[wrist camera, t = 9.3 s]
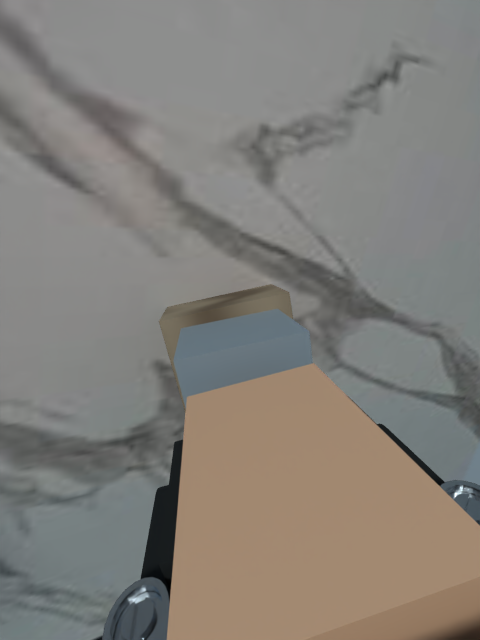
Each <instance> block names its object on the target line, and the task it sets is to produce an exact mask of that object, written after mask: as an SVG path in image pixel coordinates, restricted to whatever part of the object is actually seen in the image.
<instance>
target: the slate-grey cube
mask: <svg viewBox="0 0 480 640" xmlns="http://www.w3.org/2000/svg"><path fill="white" fill-rule="evenodd" d="M173 361H174V365H175V369H176V373H177V377H178V381H179V385H180V388H181V392H182V396H183V400H184V404H185V408H186V402H187V397H188V396H192V395H196V394H199V393H203V392H207V391H211V390H215V389H218V388H222V387H226V386H230V385H233V384H237V383H241V382H245V381H248V380H252V379H256V378H260V377H264V376H267V375H271V374H275V373H279V372H282V371H286V370H290V369H294V368H297V367H301V366H305V365H309V364H313V362H312V352H311V343H310V334H309V331H308V330H307V329H305V328H304V327H302V326H301V325H300V324H298V323H297V322H296V321H294V320H293V319H291V318H290V317H289V316H287V315H286V314H284V313H283V312H282V311H280V310H279V309H273V310H268V311H263V312H259V313H254V314H249V315H244V316H239V317H234V318H229V319H224V320H219V321H214V322H210V323H205V324H200V325H195V326H190V327H185V328H181V331H180V335H179V339H178V343H177V347H176V352H175V356H174V360H173Z"/></svg>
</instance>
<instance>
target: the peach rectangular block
mask: <svg viewBox="0 0 480 640" xmlns="http://www.w3.org/2000/svg"><path fill="white" fill-rule="evenodd" d="M167 640H480V525H479V524H478V523H477V522H476V521H475V520H474V519H473V518H471V517H470V516H469V515H468V514H467V513H466V512H465V511H464V510H463V509H462V508H461V507H460V506H459V505H458V504H457V503H456V502H455V501H454V500H453V499H452V498H451V497H450V496H449V495H448V494H447V493H446V492H445V491H444V490H443V489H442V488H441V487H440V486H439V485H438V484H437V483H436V482H435V481H434V480H433V479H432V478H431V477H430V476H429V475H427V474H426V473H425V472H424V471H423V470H422V469H421V468H420V467H419V466H418V465H417V464H416V463H415V462H414V461H413V460H412V459H411V458H410V457H409V456H408V455H407V454H406V453H405V452H404V451H403V450H402V449H401V448H400V447H399V446H398V445H397V444H396V443H395V442H394V441H393V440H392V439H391V438H390V437H389V436H388V435H387V434H386V433H385V432H384V431H382V430H381V429H380V428H379V427H378V426H377V425H376V424H375V423H374V422H373V421H372V420H371V419H370V418H369V417H368V416H367V415H366V414H365V413H364V412H363V411H362V410H361V409H360V408H359V407H358V406H357V405H356V404H355V403H354V402H353V401H352V400H351V399H350V398H349V397H348V396H347V395H346V394H345V393H344V392H343V391H342V390H341V389H340V388H339V387H337V386H336V385H335V384H334V383H333V382H332V381H331V380H330V379H329V378H328V377H327V376H326V375H325V374H324V373H323V372H322V371H321V370H320V369H319V368H318V367H317V366H316V365H315V364H314V363H313V364H309V365H305V366H301V367H297V368H294V369H290V370H286V371H282V372H279V373H275V374H271V375H267V376H264V377H260V378H256V379H252V380H248V381H245V382H241V383H237V384H233V385H230V386H226V387H222V388H218V389H215V390H211V391H207V392H203V393H199V394H196V395H192V396H188V397H187V402H186V414H185V426H184V438H183V450H182V462H181V474H180V486H179V498H178V510H177V522H176V534H175V546H174V558H173V570H172V582H171V594H170V606H169V618H168V630H167Z"/></svg>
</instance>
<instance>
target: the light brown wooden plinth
mask: <svg viewBox="0 0 480 640" xmlns="http://www.w3.org/2000/svg"><path fill="white" fill-rule="evenodd" d="M273 309H279V310H280V311H282V312H283V313H284V314H286V315H287V316H289V317H290V318H291V319H293V315H292V308H291V302H290V295H289V292H287V291H285V290H283V289H281V288H279V287H276V286H274V285H272V284H270V285H266V286H261V287H257V288H252V289H248V290H243V291H238V292H234V293H229V294H225V295H220V296H216V297H211V298H207V299H202V300H198V301H193V302H188V303H184V304H179V305H175V306H170V307H167V308H166V310H165V312H164V314H163V315H162V317H161V319H160V321H159V323H160V327H161V330H162V334H163V337H164V341H165V344H166V348H167V351H168V354H169V358H170V361H171V365H172V368H173V372H174V375H175V379H176V382H177V385H178V389H179V392H180V396H181V399H182V403H183V406H184V410H185V413H186V408H185V404H184V400H183V396H182V392H181V388H180V385H179V381H178V377H177V373H176V369H175V365H174V361H173V360H174V356H175V352H176V347H177V343H178V339H179V335H180V331H181V328H185V327H190V326H195V325H200V324H205V323H210V322H214V321H219V320H224V319H229V318H234V317H239V316H244V315H249V314H254V313H259V312H263V311H268V310H273Z"/></svg>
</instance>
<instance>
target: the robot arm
mask: <svg viewBox="0 0 480 640" xmlns="http://www.w3.org/2000/svg"><path fill="white" fill-rule="evenodd" d="M355 404H356V403H355ZM356 405H357V404H356ZM357 406H358V405H357ZM358 407H359V406H358ZM359 408H360V407H359ZM360 409H361V408H360ZM361 410H362V409H361ZM362 411H363V410H362ZM363 412H364V411H363ZM364 413H365V412H364ZM365 414H366V413H365ZM366 415H367V414H366ZM367 416H368V415H367ZM368 417H369V416H368ZM369 418H370V417H369ZM370 419H371V418H370ZM371 420H372V419H371ZM372 421H373V420H372ZM373 422H374V421H373ZM374 423H375V422H374ZM375 424H376V423H375ZM376 425H377V426H378V427H379V428H380V429H381V430H382V431H384V432H385V433H386V434H387V435H388V436H389V437H390V438H391V439H392V440H393V441H394V442H395V443H396V444H397V445H398V446H399V447H400V448H401V449H402V450H403V451H404V452H405V453H406V454H407V455H408V456H409V457H410V458H411V459H412V460H413V461H414V462H415V463H416V464H417V465H418V466H419V467H420V468H421V469H422V470H423V471H424V472H425V473H426V474H427V475H429V476H430V477H431V478H432V479H433V480H434V481H435V482H436V483H437V484H438V485H439V486H440V487H441V488H442V489H443V490H444V491H445V492H446V493H447V494H448V495H449V496H450V497H451V498H452V499H453V500H454V501H455V502H456V503H457V504H458V505H459V506H460V507H461V508H462V509H463V510H464V511H465V512H466V513H467V514H468V515H469V516H470V517H471V518H473V519H474V520H475V521H476V522H477V523H478V524H479V525H480V485H477V484H475V483H471V482H468V481H462V480H452V481H447V482H444V481H443V480H442V479H441V478H440V477H439V476H437V475H436V474H435V473H434V472H433V471H432V470H431V469H430V468H429V467H428V466H427V465H426V464H425V463H424V462H423V461H422V460H420V459H419V458H418V457H417V456H416V455H415V454H414V453H413V452H412V451H411V450H410V449H409V448H408V447H407V446H406V445H405V444H403V443H402V442H401V441H400V440H399V439H398V438H397V437H396V436H395V435H394V434H393V433H392V432H391V431H390V430H389V429H387V428H386V427H385V426H384V425H382V424H376ZM182 450H183V440H180V441H176V442H175V443H174V450H173V458H172V465H171V473H170V481H169V485H167V486H163V487H160V488H158V489H157V492H156V496H155V501H154V507H153V513H152V518H151V524H150V529H149V535H148V541H147V546H146V552H145V557H144V563H143V569H142V574H141V580H138V581H136V582H134V583H133V584H132V585H131V586H129V587H128V588H127V589H125V591H124V592H123V593H122V594H121V595H120V596H119V598H118V599H117V600H116V602H115V603H114V605H113V607H112V608H111V610H110V612H109V615H108V617H107V620H106V623H105V626H104V632H103V638H102V640H167V630H168V618H169V606H170V594H171V582H172V570H173V558H174V546H175V534H176V522H177V510H178V498H179V486H180V474H181V462H182Z"/></svg>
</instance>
